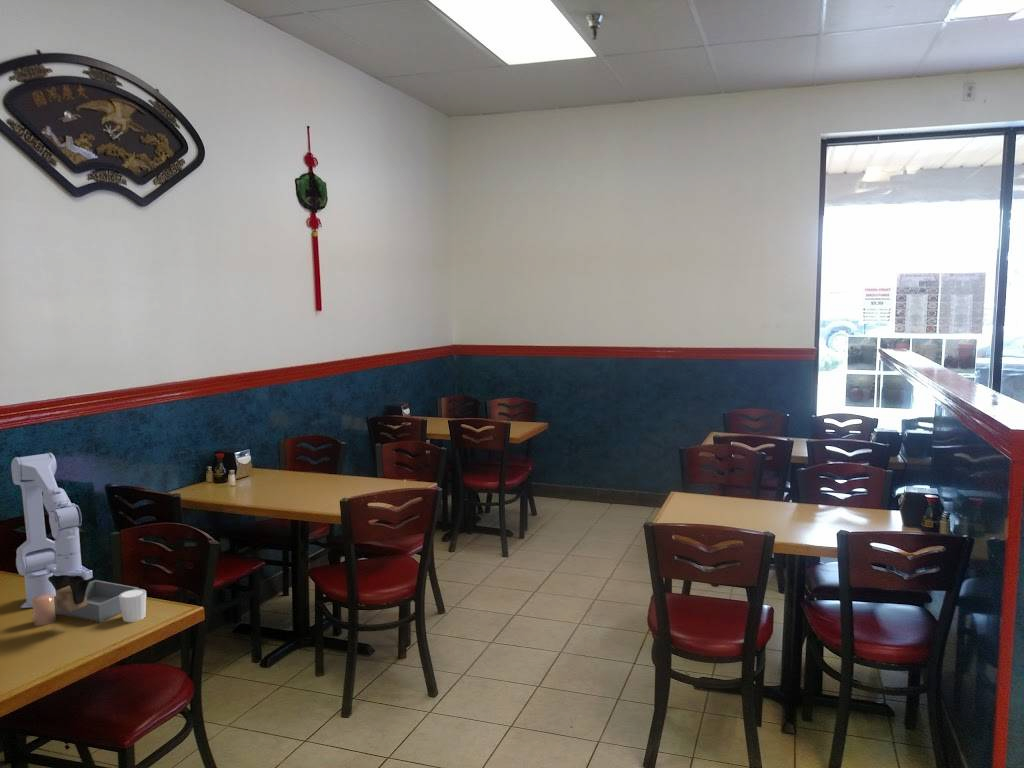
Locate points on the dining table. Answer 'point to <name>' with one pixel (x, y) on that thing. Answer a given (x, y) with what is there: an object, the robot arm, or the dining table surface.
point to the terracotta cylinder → (44, 609)
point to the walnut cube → (68, 600)
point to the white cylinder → (133, 604)
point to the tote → (99, 601)
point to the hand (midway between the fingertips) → (71, 601)
